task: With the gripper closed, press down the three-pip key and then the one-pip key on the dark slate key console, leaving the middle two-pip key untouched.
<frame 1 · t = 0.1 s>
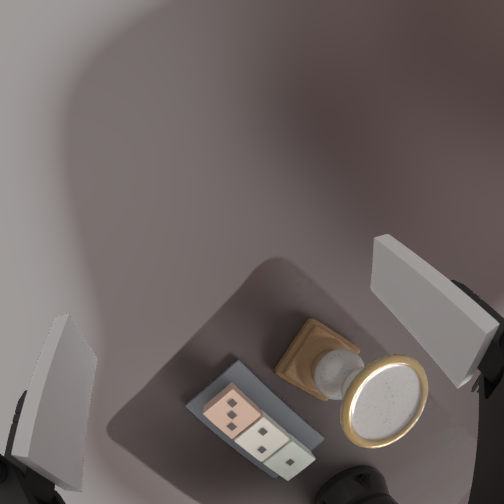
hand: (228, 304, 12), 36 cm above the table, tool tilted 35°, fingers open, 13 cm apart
one pip key: (288, 457, 39), point 5 cm above the table, slide at 0.0 cm
two pip key: (261, 436, 39), point 5 cm above the table, slide at 0.0 cm
candle holder: (316, 359, 47), on the table
three pip key: (231, 410, 39), point 5 cm above the table, slide at 0.0 cm
console: (257, 424, 44), on the table
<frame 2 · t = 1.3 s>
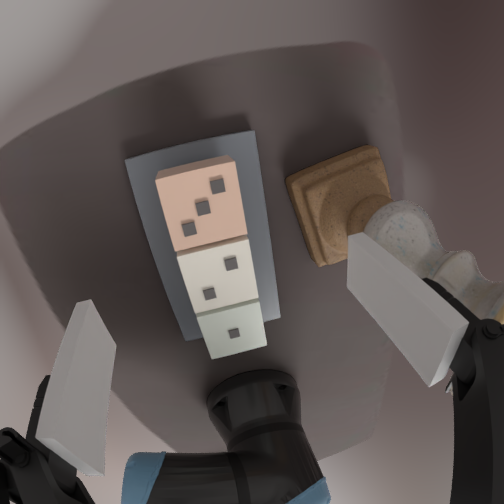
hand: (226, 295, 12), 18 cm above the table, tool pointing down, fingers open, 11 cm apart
one pip key: (231, 322, 30), point 5 cm above the table, slide at 0.0 cm
two pip key: (217, 269, 27), point 5 cm above the table, slide at 0.0 cm
candle holder: (340, 202, 32), on the table
three pip key: (201, 201, 24), point 5 cm above the table, slide at 0.0 cm
console: (211, 246, 31), on the table
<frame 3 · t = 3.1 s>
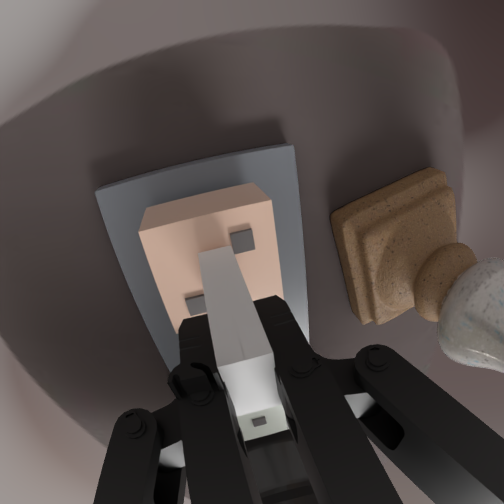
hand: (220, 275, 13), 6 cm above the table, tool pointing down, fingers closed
one pip key: (253, 404, 21), point 5 cm above the table, slide at 0.0 cm
candle holder: (393, 242, 24), on the table
three pip key: (214, 257, 15), point 4 cm above the table, slide at -0.7 cm, touching gripper
console: (226, 306, 22), on the table
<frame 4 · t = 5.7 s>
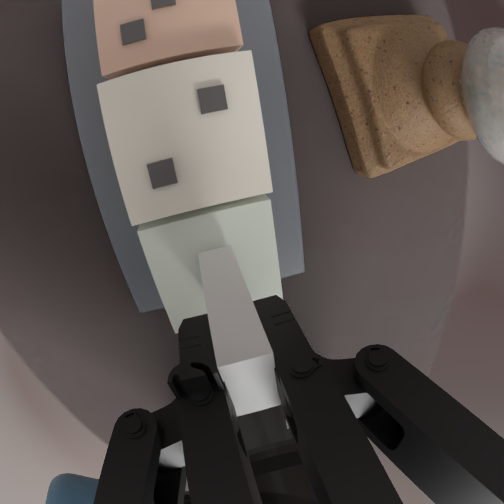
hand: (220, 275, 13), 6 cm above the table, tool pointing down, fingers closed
one pip key: (213, 257, 15), point 4 cm above the table, slide at -0.6 cm, touching gripper
two pip key: (185, 133, 12), point 5 cm above the table, slide at 0.0 cm
candle holder: (390, 86, 17), on the table
three pip key: (164, 10, 10), point 4 cm above the table, slide at -1.1 cm
console: (184, 128, 16), on the table
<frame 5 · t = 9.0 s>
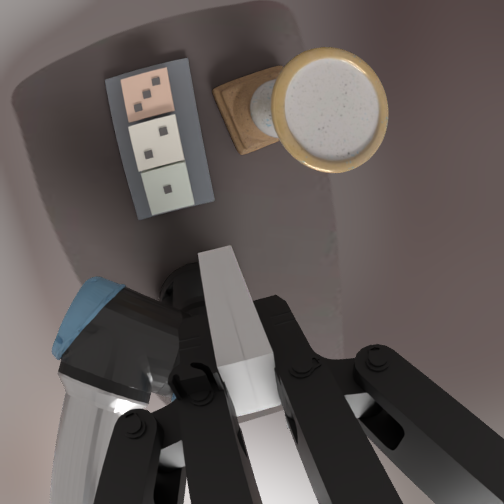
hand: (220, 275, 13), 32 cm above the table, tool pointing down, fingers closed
one pip key: (168, 186, 39), point 4 cm above the table, slide at -1.1 cm
two pip key: (157, 141, 35), point 5 cm above the table, slide at 0.0 cm
candle holder: (258, 108, 40), on the table
three pip key: (148, 95, 33), point 4 cm above the table, slide at -1.1 cm
console: (159, 138, 39), on the table
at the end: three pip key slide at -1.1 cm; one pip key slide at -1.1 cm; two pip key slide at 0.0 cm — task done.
